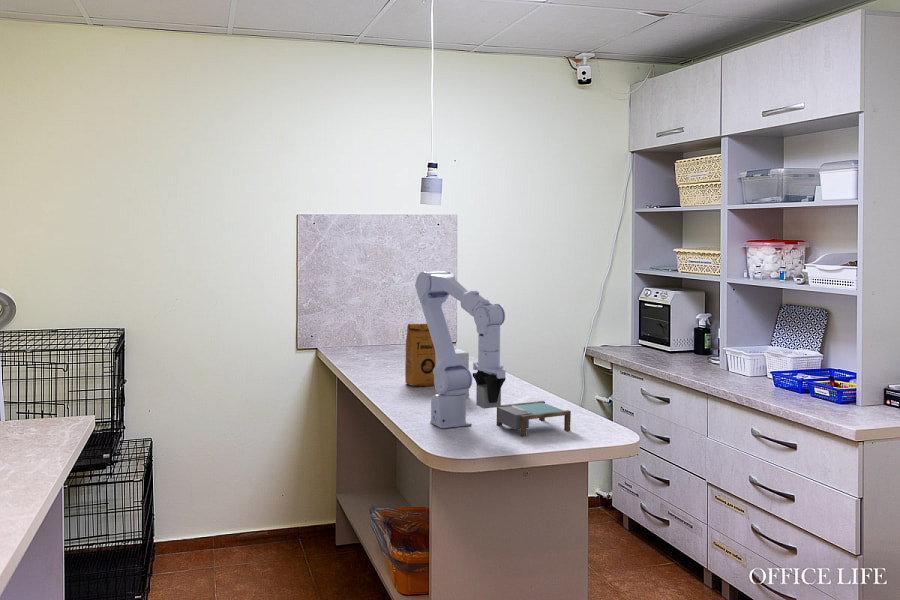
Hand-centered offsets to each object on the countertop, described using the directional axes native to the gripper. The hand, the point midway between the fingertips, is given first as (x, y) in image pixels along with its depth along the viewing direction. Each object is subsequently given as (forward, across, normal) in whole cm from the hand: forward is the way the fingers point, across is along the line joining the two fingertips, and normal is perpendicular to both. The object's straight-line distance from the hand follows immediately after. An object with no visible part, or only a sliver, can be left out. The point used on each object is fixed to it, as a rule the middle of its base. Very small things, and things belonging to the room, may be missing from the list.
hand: (488, 400), depth 211 cm
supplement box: (+10, +49, -13) cm, 51 cm away
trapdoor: (+8, +2, -14) cm, 16 cm away
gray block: (+1, 0, 0) cm, 1 cm away
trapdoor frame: (+9, +2, -15) cm, 18 cm away
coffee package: (+10, +70, -12) cm, 72 cm away
